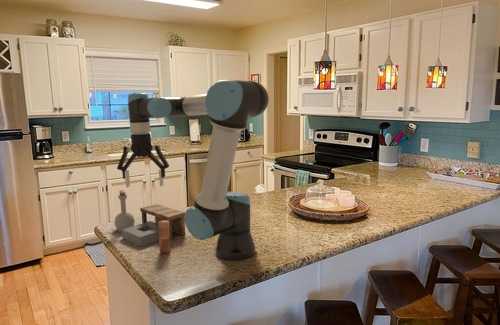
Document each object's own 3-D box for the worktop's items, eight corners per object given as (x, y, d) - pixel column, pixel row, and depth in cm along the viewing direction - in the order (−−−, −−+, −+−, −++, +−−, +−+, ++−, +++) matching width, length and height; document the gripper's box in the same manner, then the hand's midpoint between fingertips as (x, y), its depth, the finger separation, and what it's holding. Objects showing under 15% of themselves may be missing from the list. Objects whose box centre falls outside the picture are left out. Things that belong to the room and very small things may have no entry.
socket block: (169, 236, 156) (169, 227, 156) (140, 246, 146) (140, 237, 145) (150, 229, 165) (150, 221, 165) (122, 238, 155) (121, 229, 154)
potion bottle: (128, 224, 173) (125, 187, 170) (138, 228, 167) (136, 190, 164) (110, 229, 166) (107, 191, 163) (121, 233, 161) (118, 194, 158)
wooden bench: (186, 234, 158) (184, 212, 157) (169, 240, 152) (168, 217, 151) (157, 224, 172) (156, 203, 171) (141, 229, 166) (140, 208, 164)
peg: (172, 251, 141) (171, 221, 139) (164, 255, 138) (162, 224, 136) (166, 249, 143) (164, 219, 141) (157, 252, 140) (155, 222, 138)
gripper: (174, 131, 148) (177, 183, 151) (112, 133, 148) (117, 185, 151) (170, 132, 140) (173, 187, 143) (105, 135, 141) (110, 189, 144)
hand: (144, 186), depth 147 cm, fingers open, 13 cm apart
